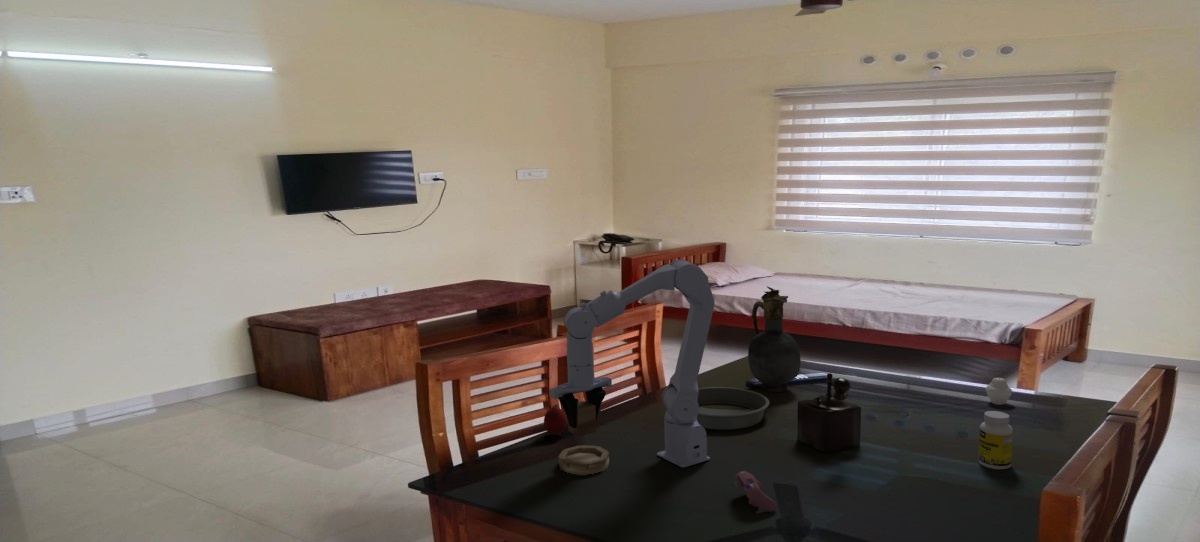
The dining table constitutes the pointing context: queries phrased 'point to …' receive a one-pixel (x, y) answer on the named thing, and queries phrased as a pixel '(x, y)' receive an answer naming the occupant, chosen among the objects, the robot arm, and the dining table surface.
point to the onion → (555, 420)
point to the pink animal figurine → (754, 492)
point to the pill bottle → (995, 441)
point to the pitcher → (773, 346)
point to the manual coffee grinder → (830, 419)
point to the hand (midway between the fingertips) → (582, 424)
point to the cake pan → (730, 417)
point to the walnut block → (584, 419)
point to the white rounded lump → (998, 391)
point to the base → (584, 460)
